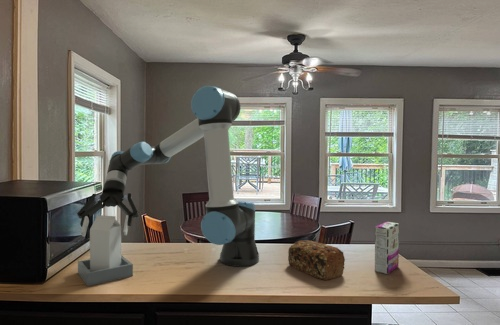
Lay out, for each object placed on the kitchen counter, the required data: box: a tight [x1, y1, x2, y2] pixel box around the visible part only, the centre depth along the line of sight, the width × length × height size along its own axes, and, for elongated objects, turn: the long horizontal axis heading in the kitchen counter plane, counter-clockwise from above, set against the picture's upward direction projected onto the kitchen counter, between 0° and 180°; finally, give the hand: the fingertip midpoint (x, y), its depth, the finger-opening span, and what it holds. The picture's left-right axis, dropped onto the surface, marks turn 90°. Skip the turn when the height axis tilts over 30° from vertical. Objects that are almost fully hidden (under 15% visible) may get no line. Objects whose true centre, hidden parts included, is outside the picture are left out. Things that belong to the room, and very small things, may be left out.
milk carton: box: [89, 214, 122, 272], centre depth 112 cm, size 7×7×19 cm
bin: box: [77, 254, 134, 287], centre depth 112 cm, size 14×14×4 cm
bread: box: [287, 239, 346, 281], centre depth 118 cm, size 19×11×10 cm, turn 33°
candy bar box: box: [374, 221, 400, 275], centre depth 119 cm, size 11×5×16 cm, turn 137°
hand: (104, 234), depth 112 cm, fingers open, 13 cm apart
